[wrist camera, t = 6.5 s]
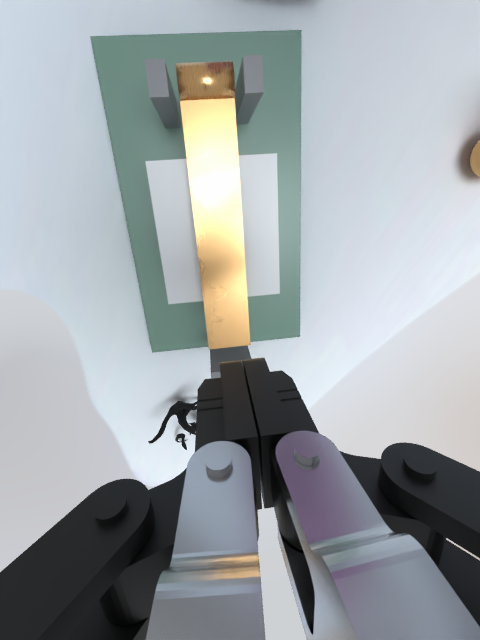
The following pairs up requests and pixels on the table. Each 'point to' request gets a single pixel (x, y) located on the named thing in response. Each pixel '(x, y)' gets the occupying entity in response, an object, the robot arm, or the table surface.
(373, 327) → the table surface
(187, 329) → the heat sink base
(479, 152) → the figurine
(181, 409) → the creature
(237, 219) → the strap
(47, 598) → the robot arm
